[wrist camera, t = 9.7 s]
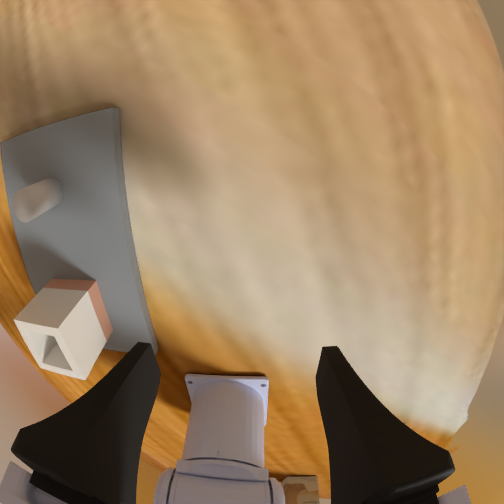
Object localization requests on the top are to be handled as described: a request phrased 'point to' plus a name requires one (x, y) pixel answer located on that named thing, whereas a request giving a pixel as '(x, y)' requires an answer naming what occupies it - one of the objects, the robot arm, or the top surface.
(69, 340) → the sleeve
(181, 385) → the top surface
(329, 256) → the top surface
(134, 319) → the pin board
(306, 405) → the top surface
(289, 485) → the skincare box
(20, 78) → the top surface
